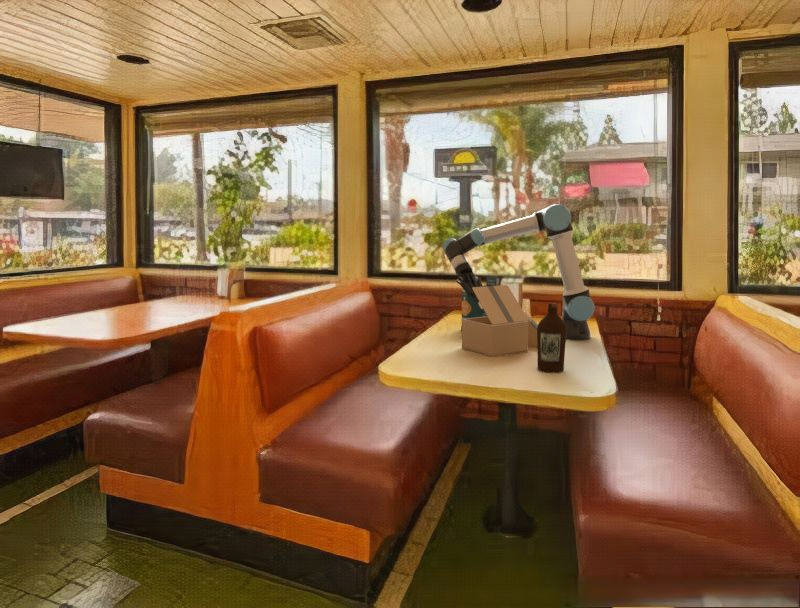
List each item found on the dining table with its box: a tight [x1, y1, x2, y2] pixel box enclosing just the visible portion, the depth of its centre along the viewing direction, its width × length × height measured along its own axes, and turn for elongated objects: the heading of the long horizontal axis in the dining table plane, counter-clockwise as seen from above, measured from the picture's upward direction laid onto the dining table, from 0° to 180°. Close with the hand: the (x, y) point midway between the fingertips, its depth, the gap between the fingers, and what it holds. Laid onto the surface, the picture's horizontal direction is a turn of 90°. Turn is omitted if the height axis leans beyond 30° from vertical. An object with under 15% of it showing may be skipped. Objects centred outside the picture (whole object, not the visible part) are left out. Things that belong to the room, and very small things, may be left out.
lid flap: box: [472, 284, 528, 325], centre depth 235 cm, size 20×20×1 cm
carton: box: [461, 316, 529, 357], centre depth 240 cm, size 20×20×13 cm
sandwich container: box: [523, 311, 539, 348], centre depth 249 cm, size 9×15×15 cm, turn 72°
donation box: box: [460, 275, 502, 332], centre depth 282 cm, size 16×16×28 cm
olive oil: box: [536, 302, 567, 373], centre depth 205 cm, size 11×11×25 cm
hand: (484, 307), depth 244 cm, fingers closed
